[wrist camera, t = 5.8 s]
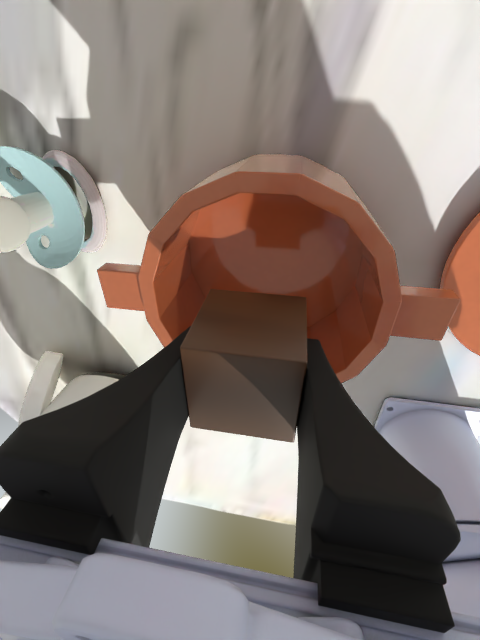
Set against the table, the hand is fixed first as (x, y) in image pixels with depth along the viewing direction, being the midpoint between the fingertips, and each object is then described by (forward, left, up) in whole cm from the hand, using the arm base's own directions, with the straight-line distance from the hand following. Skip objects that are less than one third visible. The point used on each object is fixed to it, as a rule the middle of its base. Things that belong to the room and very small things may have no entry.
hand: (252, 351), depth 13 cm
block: (0, 0, -1) cm, 1 cm away
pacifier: (+3, +14, -10) cm, 17 cm away
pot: (0, 0, -10) cm, 10 cm away
